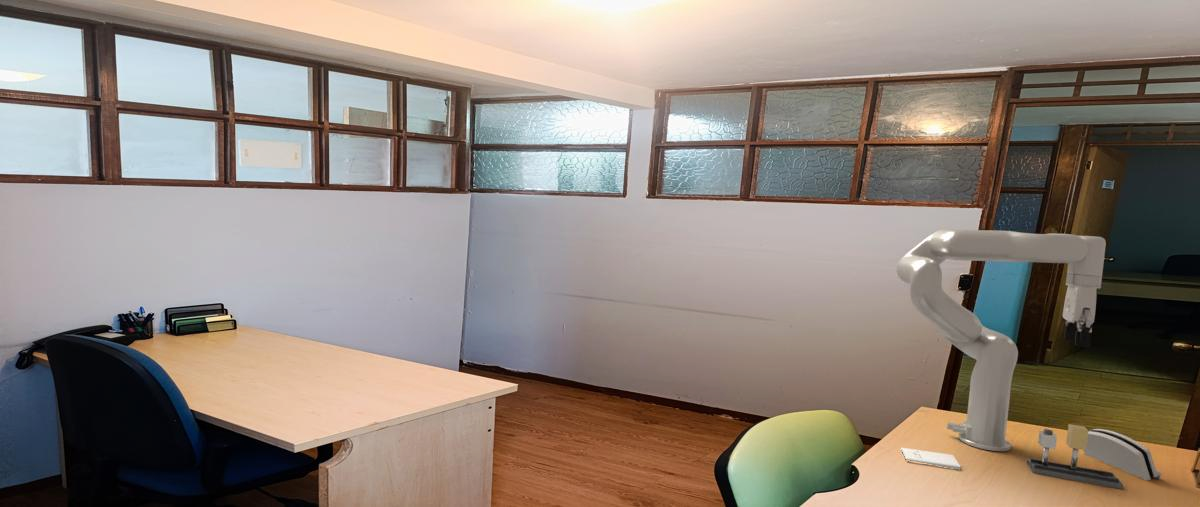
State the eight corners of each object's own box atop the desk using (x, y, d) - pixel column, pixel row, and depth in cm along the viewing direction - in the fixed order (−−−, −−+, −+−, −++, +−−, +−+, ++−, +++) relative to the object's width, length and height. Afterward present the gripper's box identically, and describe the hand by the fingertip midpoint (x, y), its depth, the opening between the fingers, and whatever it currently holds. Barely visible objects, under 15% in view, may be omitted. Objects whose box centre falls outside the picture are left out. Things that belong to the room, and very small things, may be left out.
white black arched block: (1163, 480, 155) (1156, 443, 153) (1148, 486, 154) (1141, 450, 153) (1098, 453, 171) (1091, 420, 170) (1083, 459, 170) (1077, 426, 169)
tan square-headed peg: (1067, 469, 154) (1072, 427, 153) (1063, 465, 157) (1068, 424, 156) (1083, 472, 152) (1088, 430, 152) (1079, 467, 155) (1084, 426, 155)
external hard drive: (960, 472, 154) (905, 463, 158) (952, 460, 162) (900, 452, 166) (960, 466, 154) (906, 457, 158) (952, 454, 162) (900, 446, 165)
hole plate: (1033, 472, 155) (1037, 432, 154) (1026, 462, 161) (1030, 423, 161) (1122, 489, 148) (1128, 447, 147) (1112, 478, 154) (1117, 437, 154)
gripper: (1057, 277, 177) (1051, 336, 179) (1076, 282, 162) (1069, 347, 163) (1090, 279, 175) (1083, 339, 176) (1112, 285, 159) (1104, 351, 160)
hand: (1076, 343), depth 169 cm, fingers open, 9 cm apart
